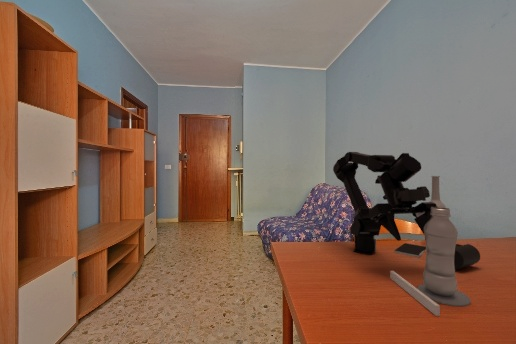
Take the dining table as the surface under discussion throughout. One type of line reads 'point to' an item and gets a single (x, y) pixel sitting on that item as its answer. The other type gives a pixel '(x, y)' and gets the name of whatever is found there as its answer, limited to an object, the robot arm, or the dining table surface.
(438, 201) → the bottle
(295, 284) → the dining table surface
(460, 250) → the end cap
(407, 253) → the smartphone
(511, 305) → the dining table surface
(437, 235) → the plastic bottle
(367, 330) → the dining table surface
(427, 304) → the frosted wall
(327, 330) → the dining table surface
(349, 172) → the robot arm
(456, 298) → the slate mat
